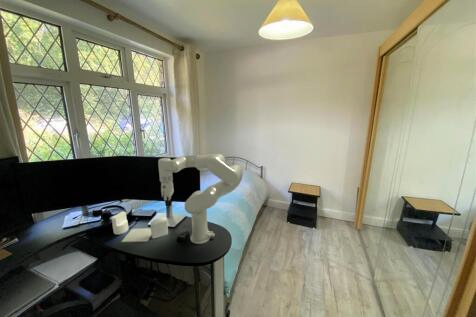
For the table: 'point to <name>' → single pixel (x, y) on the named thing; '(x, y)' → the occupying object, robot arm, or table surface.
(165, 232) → the photo printer
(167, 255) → the table surface
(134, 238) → the felt mat
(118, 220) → the base with upright slab
